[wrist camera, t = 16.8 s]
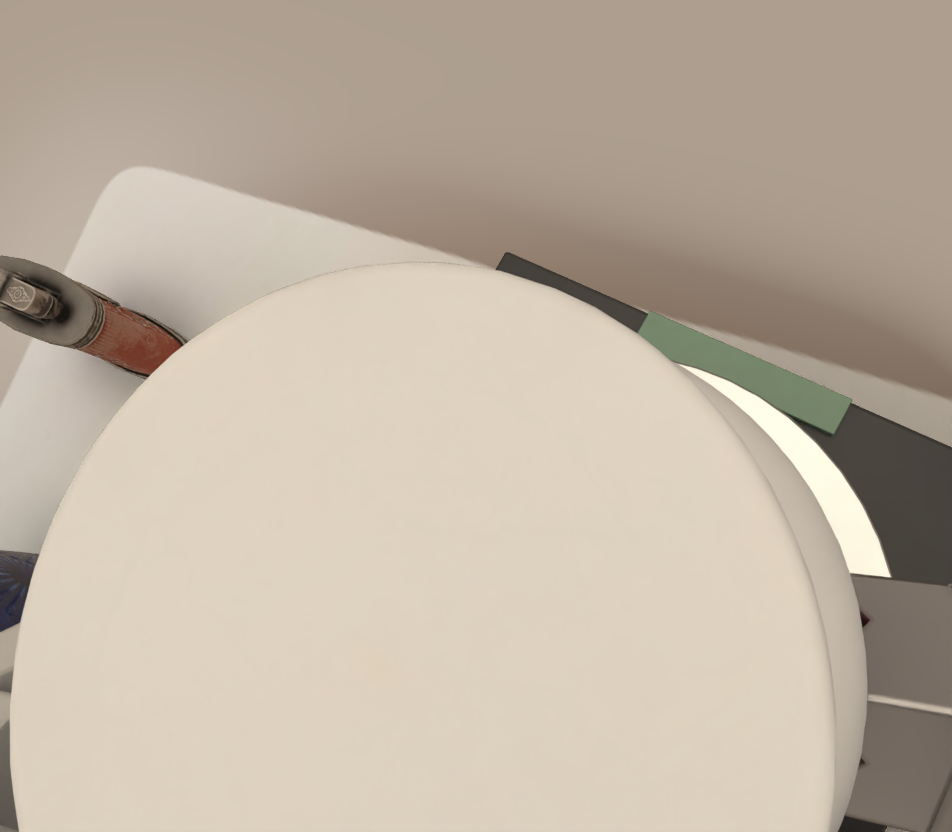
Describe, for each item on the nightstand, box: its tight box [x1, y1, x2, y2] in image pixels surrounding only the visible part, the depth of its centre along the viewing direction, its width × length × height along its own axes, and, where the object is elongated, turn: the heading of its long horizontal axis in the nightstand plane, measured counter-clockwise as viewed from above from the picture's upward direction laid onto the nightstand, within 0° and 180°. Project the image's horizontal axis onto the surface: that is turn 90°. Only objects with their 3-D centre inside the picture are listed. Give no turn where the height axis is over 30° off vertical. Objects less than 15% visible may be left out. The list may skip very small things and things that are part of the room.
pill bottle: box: [10, 262, 868, 832], centre depth 9 cm, size 6×6×11 cm
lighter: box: [0, 256, 188, 379], centre depth 37 cm, size 8×3×10 cm, turn 64°
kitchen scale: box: [496, 252, 952, 832], centre depth 16 cm, size 12×12×3 cm
